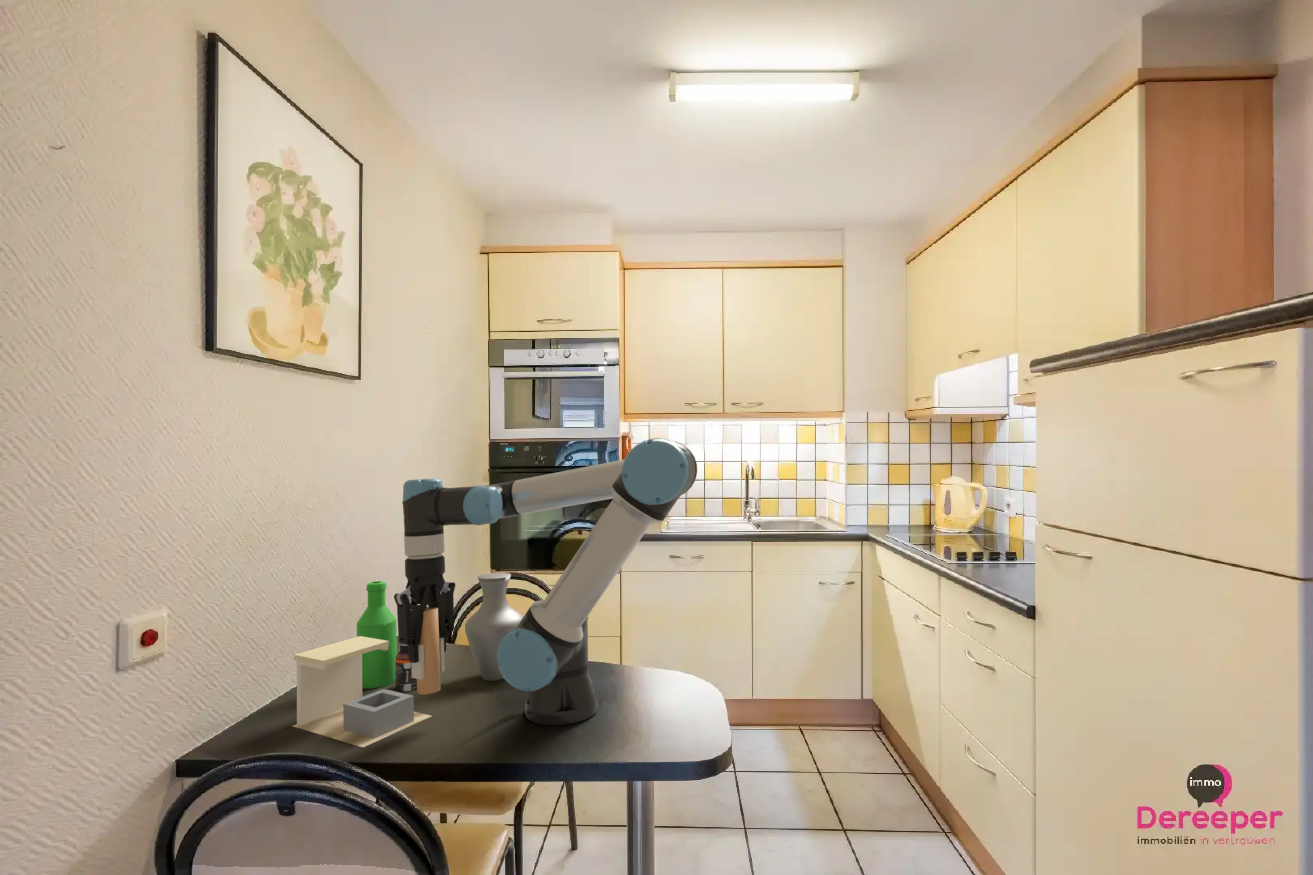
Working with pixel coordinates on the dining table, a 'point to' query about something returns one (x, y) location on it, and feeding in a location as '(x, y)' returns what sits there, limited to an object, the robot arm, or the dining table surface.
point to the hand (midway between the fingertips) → (428, 673)
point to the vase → (491, 624)
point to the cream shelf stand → (331, 676)
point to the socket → (378, 713)
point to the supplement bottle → (404, 671)
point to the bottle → (378, 626)
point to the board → (335, 729)
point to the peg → (430, 653)
